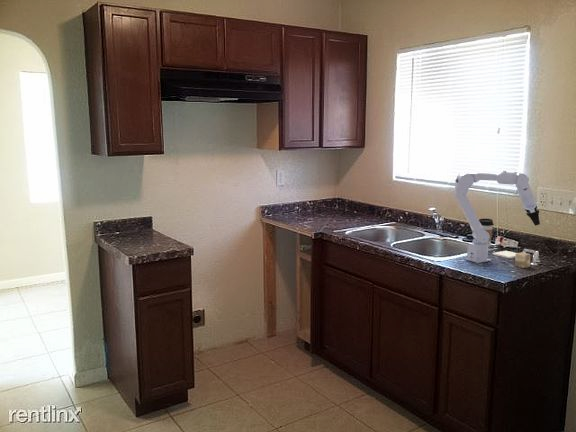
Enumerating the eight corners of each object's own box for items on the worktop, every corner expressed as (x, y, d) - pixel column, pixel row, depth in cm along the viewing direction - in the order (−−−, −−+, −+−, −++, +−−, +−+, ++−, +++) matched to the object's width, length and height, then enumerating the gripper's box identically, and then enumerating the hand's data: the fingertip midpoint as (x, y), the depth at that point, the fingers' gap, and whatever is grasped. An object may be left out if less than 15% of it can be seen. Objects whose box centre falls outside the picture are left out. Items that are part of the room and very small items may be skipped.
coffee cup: (494, 245, 281) (495, 219, 279) (490, 248, 274) (491, 221, 272) (478, 244, 286) (479, 217, 284) (474, 247, 279) (475, 220, 277)
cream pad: (508, 258, 253) (509, 256, 253) (492, 254, 262) (492, 252, 262) (522, 256, 258) (522, 254, 258) (505, 252, 267) (505, 250, 267)
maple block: (523, 268, 236) (523, 255, 235) (514, 265, 240) (515, 253, 239) (529, 266, 238) (530, 254, 237) (521, 264, 242) (522, 252, 241)
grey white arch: (534, 265, 239) (535, 255, 238) (511, 259, 250) (511, 249, 250) (547, 263, 243) (547, 252, 242) (523, 257, 255) (524, 247, 254)
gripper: (537, 197, 235) (547, 224, 236) (533, 190, 248) (543, 216, 249) (521, 202, 238) (531, 228, 239) (518, 195, 251) (528, 221, 252)
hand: (536, 222), depth 244 cm, fingers open, 7 cm apart
